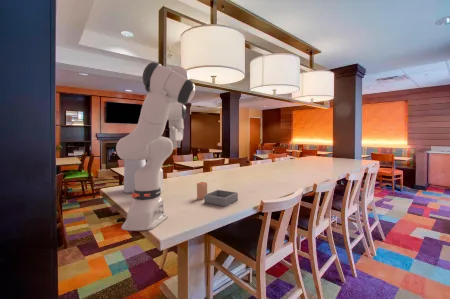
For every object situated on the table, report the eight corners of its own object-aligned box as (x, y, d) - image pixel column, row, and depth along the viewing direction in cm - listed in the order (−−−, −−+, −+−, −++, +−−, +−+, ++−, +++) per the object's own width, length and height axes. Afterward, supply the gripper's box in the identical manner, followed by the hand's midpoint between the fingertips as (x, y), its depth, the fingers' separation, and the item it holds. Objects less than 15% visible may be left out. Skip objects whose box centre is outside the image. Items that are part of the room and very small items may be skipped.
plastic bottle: (149, 187, 173) (148, 150, 171) (145, 192, 158) (143, 152, 156) (128, 188, 171) (126, 150, 169) (122, 193, 156) (120, 152, 154)
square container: (197, 198, 142) (196, 183, 142) (201, 196, 146) (201, 181, 146) (202, 199, 140) (202, 184, 139) (207, 197, 144) (207, 182, 143)
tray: (225, 206, 126) (225, 198, 126) (204, 202, 134) (204, 194, 133) (237, 200, 138) (237, 192, 138) (217, 196, 146) (217, 189, 145)
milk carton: (148, 192, 157) (147, 165, 156) (155, 190, 164) (154, 163, 163) (156, 193, 154) (155, 165, 153) (163, 191, 161) (162, 164, 159)
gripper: (177, 125, 133) (178, 149, 134) (184, 126, 154) (185, 147, 154) (166, 125, 133) (167, 149, 134) (175, 126, 154) (175, 147, 155)
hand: (176, 148), depth 145 cm, fingers open, 8 cm apart
